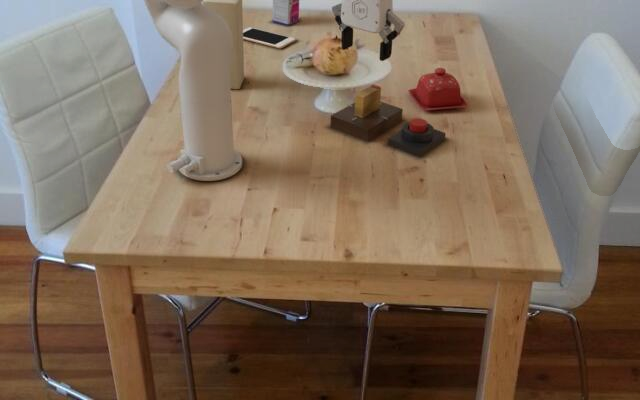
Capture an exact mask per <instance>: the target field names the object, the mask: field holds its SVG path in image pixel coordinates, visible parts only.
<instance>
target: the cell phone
mask: <svg viewBox="0 0 640 400" xmlns="http://www.w3.org/2000/svg"><path fill="white" fill-rule="evenodd" d="M296 39H297V38H296V37H292V36H289V35H284V34H281V33H280V34H279V33H276V32H272V31H267V30H264V29H260V28H255V27H250V26H249V27H245V28H243V40H245V41H248V42H254V43H257V44H261V45H264V46H265V45H266V46H269V47H272V48H277V49H283V48H285V47H286V46H287V47H288V46H289V45H290V44H292V43H294V42H296Z"/></svg>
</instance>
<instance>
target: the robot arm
mask: <svg viewBox="0 0 640 400" xmlns="http://www.w3.org/2000/svg"><path fill="white" fill-rule="evenodd" d="M203 1H204V0H143V2H144V4H145V7H146V9H147V11H148V13H149V16H150V18H151V20H152V22H153V25H154V27H155V29H156V31H157V33H158V35H160V37H161V38H162V39H163V40H164V41H165V42H166V43H167V44H168V45H170V46H171V47H172V48H174V49H175V50H176V51H177V52H178V53H179V54H180V66H179V71H178V92H179V100H180V113H181V125H182V135H183V146H184V147H183V148H182V149H180V151H179V152H180V156H178V158H177V159H176V160H173V161H171V162H169V163H167V164H166V166H165V167H166V171H167V172H168V173H169V174H173V173H175V172H178V171H179V172H180V173H181V174H182V175H183V176H185V177H186V178H189V179H191V180H195V181H200V182H215V181H221V180H224V179H227V178H231V177H232V176H234V175H236V174H237V173H238V172H239V171H240V170H241V169H242V167H243V157H242V155H241V153H239V152H238V151H237V150H235V149H234V148H235V147H234V129H233V125H234V124H233V107H232V106H233V105H232V89H231V84H230V67H231V57H232V50H233V36H232V32H231V29H230V27H229V25H228V24H227V22H226V21H225V20H224V19H223V18H222V17H221V16H220V15H219V14H218V13H216V12H215V11H213V10H211V9H210V8H208V7H207V6H205V5H203ZM393 3H394V2H393V0H341V2H340V3H338V4H336V5H333V6H332V7H331V10H332V13H333V16H334V20H335V22H336V23H337V25H338V30H339V31H340V32H341V35H340V36H341V39H340V40H341V41H340V42H341V50H344V51H345V50H347V49H350V48H351V47H353V45H354V29H357V30H361V31H364V32H368V33H371V34H372V33H373V34H378V35H379V37H380V38H381V40H382V41H381V42H380V43H379V60H380V62H384V61H386V60H388V59H389V58H391V55H392V52H393V41H394V40H395V39H396V38H397V37H398V36H400V35H401V32H402V31H403V29H404V27H405V26H406V23H405V22H404V20H402V19H401V18H399V16H397V15H396V14H395V13H394V12H393V11H394V10H393V9H394V8H393V5H394V4H393ZM392 25H393V26H394V27H393V29H392V28H391V27H392Z"/></svg>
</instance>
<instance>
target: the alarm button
mask: <svg viewBox="0 0 640 400" xmlns="http://www.w3.org/2000/svg"><path fill="white" fill-rule="evenodd" d="M409 122H410V125H409V130H410V131H413V132H417V133H421V132H426V129H427V123H428V121H427V120H426V119H423V118H419V117H417V118H415V117H414V118H412V119H410V121H409Z"/></svg>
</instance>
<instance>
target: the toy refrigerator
mask: <svg viewBox="0 0 640 400" xmlns="http://www.w3.org/2000/svg"><path fill="white" fill-rule="evenodd" d="M202 4H203V5H205V6H207V7H208V8H210V9H211V10H213V11H215V12H216V13H218V14H219V15H220V16H221V17H222V18H223V19H224V20H225V21H226V22H227V24H228V25H229V27H230V29H231V32H232V36H233V50H232V57H231V67H230V84H231V90H240V89H241V86H242V84H243V83H244V80H245V60H244V59H245V58H244V55H245V54H244V39H243V30H244V22H243V21H244V17H243V0H203V1H202Z"/></svg>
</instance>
